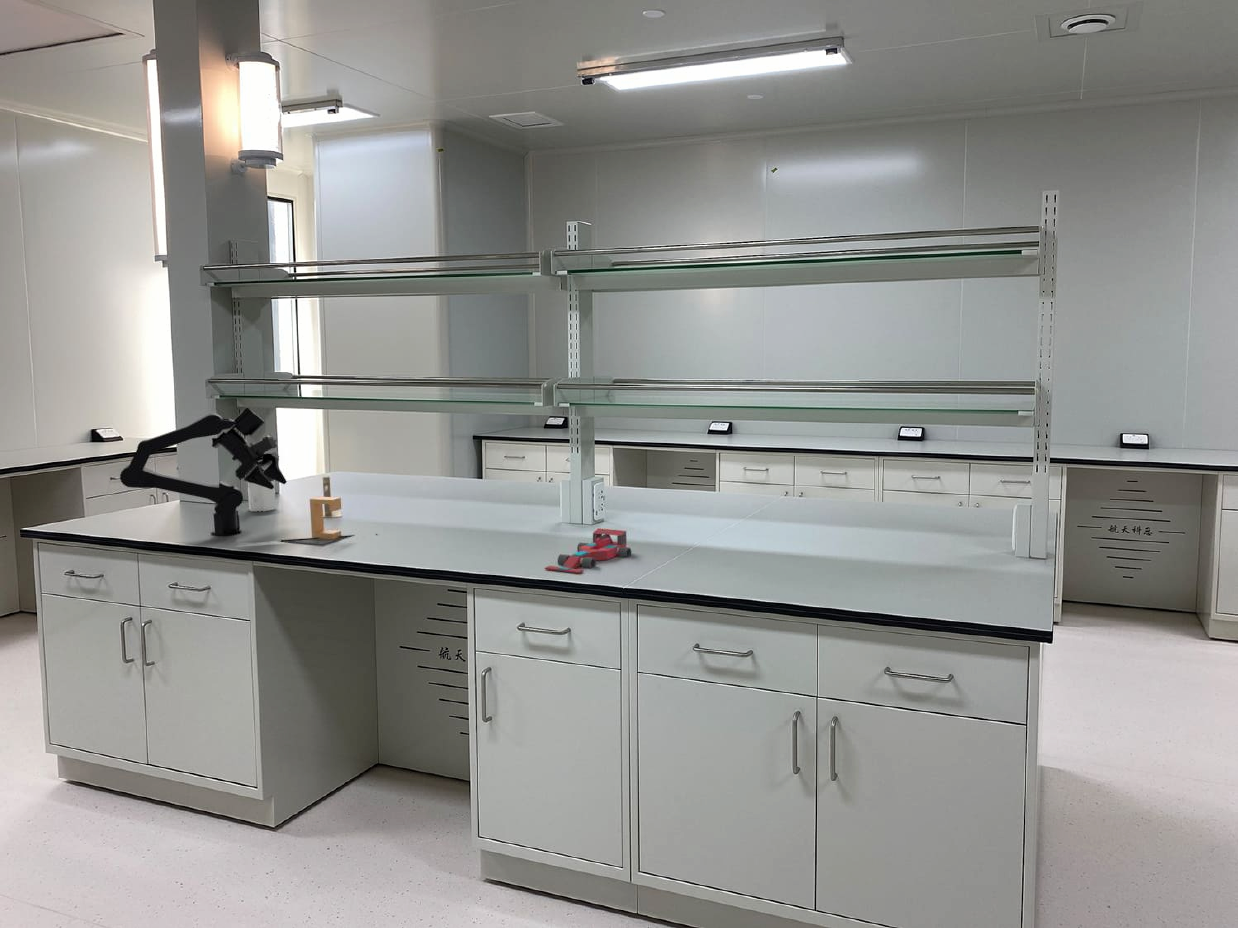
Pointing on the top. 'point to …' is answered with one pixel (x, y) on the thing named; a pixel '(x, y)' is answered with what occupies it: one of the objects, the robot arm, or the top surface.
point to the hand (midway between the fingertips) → (279, 485)
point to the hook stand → (328, 494)
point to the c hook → (317, 516)
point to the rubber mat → (315, 540)
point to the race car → (594, 551)
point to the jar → (261, 497)
